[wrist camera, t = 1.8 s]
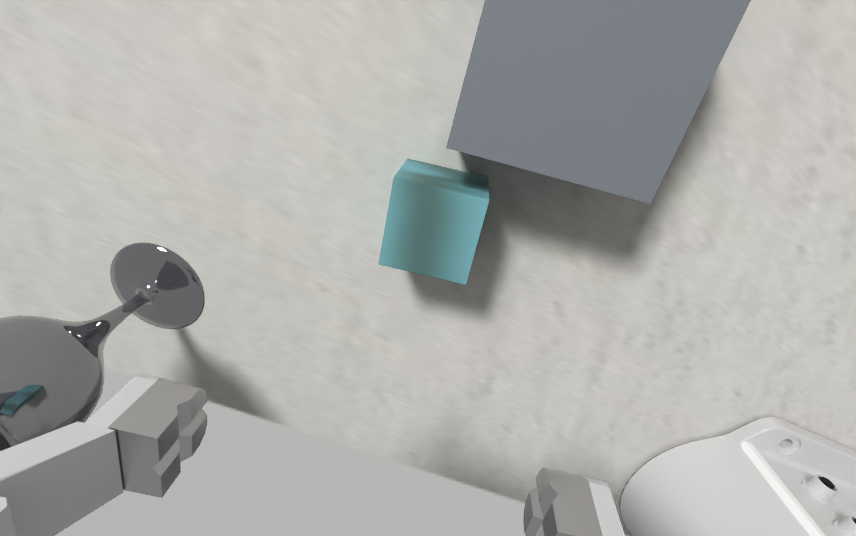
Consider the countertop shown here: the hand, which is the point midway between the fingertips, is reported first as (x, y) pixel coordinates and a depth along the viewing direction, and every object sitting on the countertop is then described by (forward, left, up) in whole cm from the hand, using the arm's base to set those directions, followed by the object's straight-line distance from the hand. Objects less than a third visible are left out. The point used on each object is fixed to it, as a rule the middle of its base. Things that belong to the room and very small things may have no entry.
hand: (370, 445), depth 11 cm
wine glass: (+19, +11, -20) cm, 29 cm away
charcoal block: (-5, -10, -20) cm, 22 cm away
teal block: (0, 0, -20) cm, 20 cm away
